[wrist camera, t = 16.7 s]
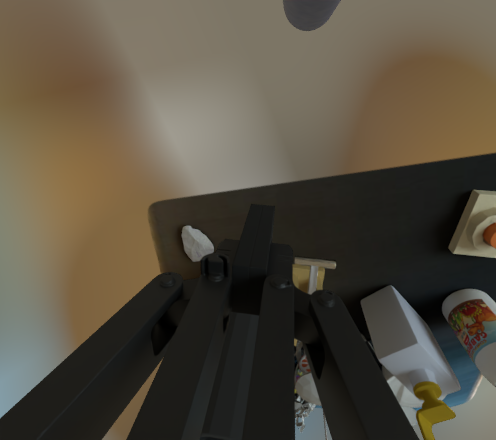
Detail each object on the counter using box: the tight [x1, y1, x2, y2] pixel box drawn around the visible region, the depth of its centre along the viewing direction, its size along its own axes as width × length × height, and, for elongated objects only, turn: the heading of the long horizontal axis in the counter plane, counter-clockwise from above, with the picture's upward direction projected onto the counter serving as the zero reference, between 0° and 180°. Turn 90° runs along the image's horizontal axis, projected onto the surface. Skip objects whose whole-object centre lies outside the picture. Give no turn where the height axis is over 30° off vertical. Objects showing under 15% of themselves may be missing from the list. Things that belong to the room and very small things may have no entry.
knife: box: [360, 331, 380, 362], centre depth 57 cm, size 10×2×1 cm, turn 31°
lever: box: [294, 256, 336, 294], centre depth 42 cm, size 12×6×2 cm, turn 177°
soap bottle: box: [361, 285, 461, 440], centre depth 42 cm, size 12×7×23 cm, turn 44°
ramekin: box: [382, 365, 446, 407], centre depth 56 cm, size 11×11×5 cm
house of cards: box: [295, 393, 315, 433], centre depth 63 cm, size 9×9×8 cm
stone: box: [182, 226, 214, 262], centre depth 51 cm, size 6×8×2 cm
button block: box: [448, 190, 496, 258], centre depth 41 cm, size 10×7×4 cm
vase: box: [200, 309, 259, 440], centre depth 39 cm, size 10×10×30 cm
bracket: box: [293, 264, 325, 346], centre depth 47 cm, size 7×6×13 cm
